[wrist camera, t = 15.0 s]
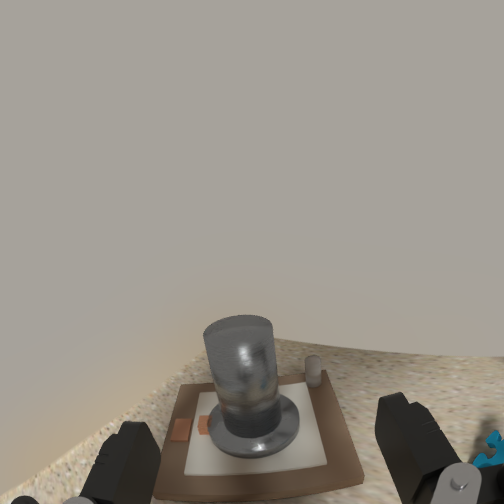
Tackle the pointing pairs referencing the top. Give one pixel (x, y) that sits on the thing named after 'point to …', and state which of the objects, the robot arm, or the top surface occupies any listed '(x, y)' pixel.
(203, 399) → the mount board
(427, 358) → the top surface
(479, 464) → the gear
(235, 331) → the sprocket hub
